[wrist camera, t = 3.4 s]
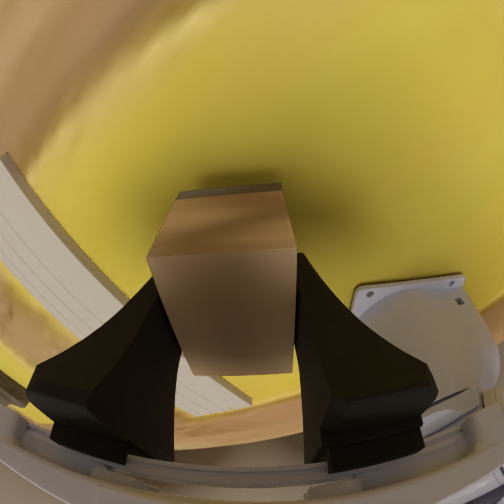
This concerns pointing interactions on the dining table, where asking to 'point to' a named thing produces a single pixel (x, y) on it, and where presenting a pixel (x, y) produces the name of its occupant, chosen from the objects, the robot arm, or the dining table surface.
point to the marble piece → (12, 392)
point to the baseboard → (81, 285)
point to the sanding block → (229, 279)
